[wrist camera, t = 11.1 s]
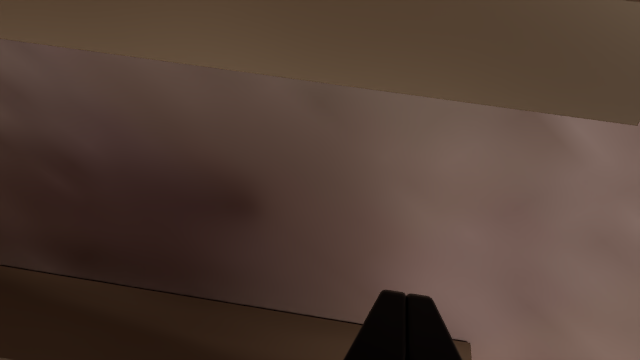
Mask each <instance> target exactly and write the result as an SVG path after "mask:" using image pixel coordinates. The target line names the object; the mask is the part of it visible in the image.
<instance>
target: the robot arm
mask: <svg viewBox="0 0 640 360" xmlns="http://www.w3.org/2000/svg"><path fill="white" fill-rule="evenodd" d="M344 360H462V358H461V356H460V354H459V352H458V350H457V348H456V346H455V344H454V342H453V340H452V338H451V336H450V334H449V332H448V329H447V327H446V325H445V323H444V321H443V319H442V317H441V315H440V313H439V311H438V309H437V307H436V305H435V303H434V301H433V300H432V298H430V297H429V296H424V295H418V294H408V295H407V296H406V295H405V294H404V293H403V292H398V291H391V290H383V291H381V293H380V294H379V296H378V298H377V300H376V301H375V303H374V305H373V307H372V309H371V311H370V312H369V314H368V316H367V318H366V320H365V321H364V323H363V325H362V327H361V329H360V330H359V332H358V334H357V336H356V338H355V340H354V341H353V343H352V345H351V347H350V349H349V350H348V352H347V354H346V356H345V358H344Z"/></svg>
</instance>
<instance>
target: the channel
mask: <svg viewBox="0 0 640 360" xmlns="http://www.w3.org/2000/svg"><path fill="white" fill-rule="evenodd" d="M0 39H6V40H13V41H21V42H28V43H35V44H43V45H50V46H57V47H65V48H72V49H79V50H87V51H94V52H101V53H109V54H116V55H123V56H130V57H138V58H145V59H152V60H160V61H167V62H174V63H182V64H189V65H196V66H204V67H211V68H218V69H226V70H233V71H240V72H248V73H255V74H262V75H269V76H277V77H284V78H291V79H299V80H306V81H313V82H321V83H328V84H335V85H343V86H350V87H357V88H365V89H372V90H379V91H387V92H394V93H401V94H409V95H416V96H423V97H430V98H438V99H445V100H452V101H460V102H467V103H474V104H482V105H489V106H496V107H504V108H511V109H518V110H526V111H533V112H540V113H548V114H555V115H562V116H570V117H577V118H584V119H591V120H599V121H606V122H613V123H621V124H628V125H635V126H637V125H638V123H639V121H640V0H0ZM361 327H362V325H357V324H351V323H345V322H339V321H333V320H327V319H321V318H315V317H309V316H303V315H296V314H290V313H284V312H278V311H272V310H266V309H260V308H254V307H248V306H242V305H236V304H229V303H223V302H217V301H211V300H205V299H199V298H193V297H187V296H181V295H175V294H169V293H162V292H156V291H150V290H144V289H138V288H132V287H126V286H120V285H114V284H108V283H102V282H95V281H89V280H83V279H77V278H71V277H65V276H59V275H53V274H47V273H41V272H35V271H28V270H22V269H16V268H10V267H4V266H0V360H344V358H345V356H346V354H347V352H348V350H349V349H350V347H351V345H352V343H353V341H354V340H355V338H356V336H357V334H358V332H359V330H360V329H361ZM453 342H454V344H455V346H456V348H457V350H458V352H459V354H460V356H461V358H462V360H472V359H471V347H470V343H467V342H461V341H455V340H453Z"/></svg>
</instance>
